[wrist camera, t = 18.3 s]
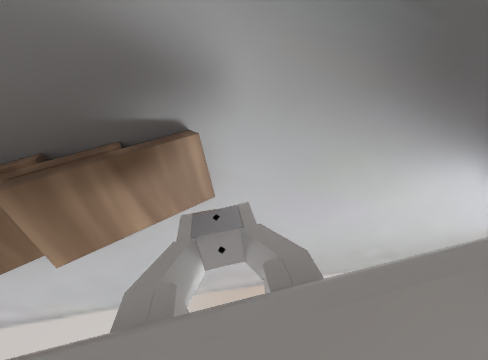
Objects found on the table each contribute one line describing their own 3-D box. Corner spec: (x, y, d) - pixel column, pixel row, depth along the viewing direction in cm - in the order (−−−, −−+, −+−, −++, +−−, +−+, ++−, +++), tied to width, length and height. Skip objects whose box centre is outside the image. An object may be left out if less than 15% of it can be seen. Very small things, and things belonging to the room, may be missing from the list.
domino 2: (198, 133, 13) (-11, 193, 9) (215, 196, 15) (56, 268, 11) (189, 129, 14) (5, 180, 10) (206, 188, 17) (62, 249, 12)
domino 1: (121, 146, 12) (-143, 220, 8) (150, 209, 15) (-41, 292, 10) (118, 141, 14) (-108, 202, 9) (146, 199, 16) (-25, 270, 12)
